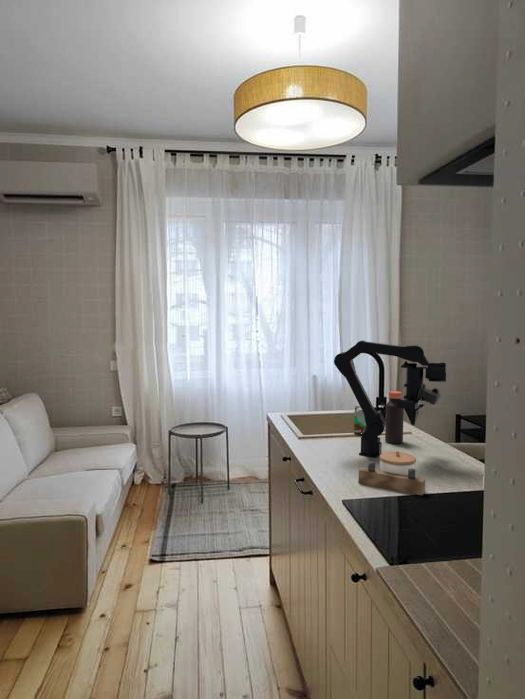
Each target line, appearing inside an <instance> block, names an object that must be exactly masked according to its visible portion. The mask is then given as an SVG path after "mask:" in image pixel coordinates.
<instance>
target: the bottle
mask: <svg viewBox="0 0 525 699" xmlns="http://www.w3.org/2000/svg"><path fill="white" fill-rule="evenodd" d="M402 394H403V393H402V391H399V390H394V391H393V390H392V391H391V390H390V391H388V399H389V401H388V402H386V404H385V419H386V421H385V428H384V431H385V432H384V433H385V434H384V435H385V436H384V442H386V443H387V444H391V445H400V444H403V443H404V420H405V418H404V416H405V415H404V414H405V412H404V411H405V409H404V408H397V402H398V401H399V400H400V399H402V398H403V395H402Z"/></svg>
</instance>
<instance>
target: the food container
mask: <svg viewBox="0 0 525 699" xmlns="http://www.w3.org/2000/svg"><path fill="white" fill-rule="evenodd" d="M353 413H354V414H353V415H354V418H353V419H354V420H353V434H354V435H360V434H359V433H362V432H363V430H364V428H366V427H367V426H366V422H365V417H364V413H363V411H362V409H361V407H360V405H354V412H353Z"/></svg>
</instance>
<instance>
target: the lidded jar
mask: <svg viewBox="0 0 525 699" xmlns="http://www.w3.org/2000/svg"><path fill="white" fill-rule="evenodd" d="M416 462H417V457H416V456H414V455H412V454H410V453H408V452H400V451H399V450H396V451H385V452H382V453H381V454H380V455H379V469H380V471H385V472H389V473H395V474H402V475H407V476H408V469H409V468H412V469H415V470H416Z"/></svg>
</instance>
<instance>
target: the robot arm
mask: <svg viewBox="0 0 525 699" xmlns="http://www.w3.org/2000/svg"><path fill="white" fill-rule="evenodd" d="M362 353H369V354H375V355H377V354H378V355H384V356H390V357H391V356H393V357H397V358H400V359H402V360H405V361H404V362H403V363H401V365H400V368H402V369H406V370H405V372H406V374H405V375H406V376H405V383H404V385H403V387H404V388H405V394H404V395H403V397H402V398H401V399H400V400H399V401H398V402H397V408H404V411H405V413H406V415H407V417H408V420H409V422H410V425H411V426H415V425H416V423H417V420H418V417H419V414H420V410H422V409H423V408H424V407H425V406H426V404H422V402H426V403H429V404H430V405H436V404H438V402H439V400H440V398H441V393H440V390H439V388H435V387H434V388H433V389H428V388H426V384H425V383H424V378H425V379H426V380H428V382H430V383H431V382H432V383H433V382H434V383H446V381H447V371H446V370H447V369H446V368H447V367H446V366H447V365H446V362H444V361H442V362H441V361H440V362H432V361H431V362H430V361H429V359H428V358H427V357H426V355H425V350H424V348H423V347H422V346H421V345H419V344H402V345H399V344H398V345H396V344H389V343H380V342H371V341H366V340H359V341H358V342H356V344H354V345H353V346H352V347H351V348H349V349H348V350H347V351H342V352H340V353H338V354H336V355H335V356H334V359H333V363H334V366H335V367H336V369H337V370H338V372H339V373H340V374H341V375H342V376H343V377H344V378H345V379H346V381H347V384H348V385H349V387H350V389H351V391H352V393H353V395H354V397H355V399H356V400H357V403H358V406H360V407H361V409H362V411H363V413H364V417H365V422H366V426H367V427H366V428H364V430H363V432H362V434H360V436H361V437H360V452H359V453H358V455H359V456H366V457H372V458H377V457H380V454H382V453H383V452H382V448H383V446H382V445H383V444H382V441H381V437H379V436H381V435H383V433H384V431H385V427H386V417H385V416H384V415H383V412H382V410H381V409H379V410H378V411H377V409H376V408H375V407H374V406H373V402H371V400H370V398H369V395H368V394H367V392H366V390H365V388H364V385H363V384H362V382H361V380H360V378H359V376H358V374H357V371H356V366H355V363H354V362H355V361H354V359H355V358H357V357H358V356H359V355H361V354H362ZM418 364H419V365H418ZM424 371H425V374H424ZM424 376H425V377H424ZM421 401H422V402H421Z"/></svg>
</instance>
